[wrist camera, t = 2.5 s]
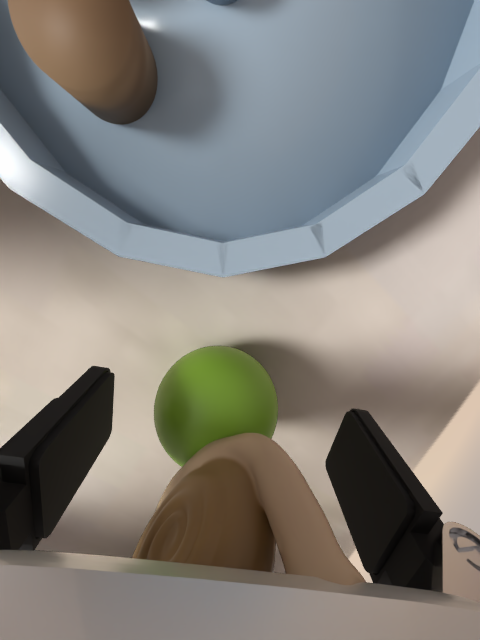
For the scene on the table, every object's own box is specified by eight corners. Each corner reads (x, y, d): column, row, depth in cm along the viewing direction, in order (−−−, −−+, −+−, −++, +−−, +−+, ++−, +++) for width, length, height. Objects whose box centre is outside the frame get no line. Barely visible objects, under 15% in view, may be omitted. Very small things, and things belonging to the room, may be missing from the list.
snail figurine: (302, 365, 14) (602, 945, 3) (218, 429, 15) (175, 1000, 4) (237, 294, 13) (273, 894, 1) (149, 371, 14) (-228, 1006, 2)
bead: (153, 133, 9) (127, 101, 7) (69, 113, 9) (12, 72, 7) (162, 29, 8) (134, -50, 6) (68, 3, 8) (0, -91, 6)
